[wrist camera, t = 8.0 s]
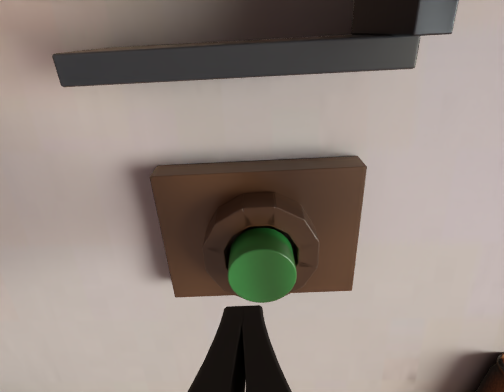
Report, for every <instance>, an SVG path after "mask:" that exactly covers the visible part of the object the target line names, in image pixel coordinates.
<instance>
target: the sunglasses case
mask: <svg viewBox="0 0 504 392" xmlns="http://www.w3.org/2000/svg"><path fill="white" fill-rule="evenodd" d="M476 392H504V353H502V354H501V355H499V356H498V357H497V362H496V364H495V365H492V366H491V368H490V369H489V370H488V372H487V374H486V376H485V377H484V378H483V380H482V382H481V384H480V386H479V388H478V389H477V391H476Z"/></svg>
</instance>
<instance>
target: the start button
mask: <svg viewBox="0 0 504 392" xmlns="http://www.w3.org/2000/svg"><path fill="white" fill-rule="evenodd" d="M296 278H297V271H296V266H295V261H294V255H293V250H292V246H291V244H290V242H289V240H288V239H287V238H286V237H285V236H284V235H283V234H281V233H280V232H278V231H276V230H274V229H270V228H253V229H250V230H247V231H245V232H243V233H241V234H240V235H239V236H238V237H237V238H236V239H235V240H234V241H233V243H232V245H231V248H230V255H229V265H228V282H229V284H230V286H231V288H232V290H233V291H234V292H235V293H236V294H237V295H239V296H240V297H242V298H244V299H246V300H249V301H252V302H259V303H264V302H271V301H275V300H278V299H280V298H282V297H284V296H285V295H286V294H288V293H289V292H290V291H291V289H292V288H293V286H294V284H295V282H296Z"/></svg>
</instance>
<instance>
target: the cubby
mask: <svg viewBox="0 0 504 392" xmlns="http://www.w3.org/2000/svg"><path fill="white" fill-rule="evenodd" d="M458 1H459V0H354V6H353V19H352V31H351V34H348V35H330V36H311V37H293V38H275V39H257V40H239V41H221V42H202V43H184V44H166V45H148V46H130V47H112V48H100V49H91V50H82V51H73V52H65V53H56V54H53V55H52V57H53V60H54V64H55V67H56V70H57V73H58V77H59V80H60V83H61V86H63V87H75V86H94V85H113V84H132V83H151V82H170V81H189V80H208V79H227V78H246V77H265V76H284V75H303V74H322V73H341V72H360V71H379V70H398V69H413V68H415V65H416V59H417V53H418V47H419V42H420V36H423V35H442V34H451V33H452V30H453V26H454V21H455V16H456V11H457V6H458Z"/></svg>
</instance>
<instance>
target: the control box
mask: <svg viewBox="0 0 504 392" xmlns="http://www.w3.org/2000/svg"><path fill="white" fill-rule="evenodd" d="M366 169H367V166H366V165H365V164H364V163H363V162H362V161H361V159H360V158H359V157H358V156H350V157H329V158H308V159H286V160H265V161H244V162H223V163H202V164H181V165H159V166H157V167H156V168H155V170H154V171H153V173H152V174H151V176H150V181H151V185H152V190H153V195H154V199H155V204H156V209H157V214H158V218H159V223H160V228H161V233H162V237H163V242H164V247H165V251H166V256H167V261H168V266H169V270H170V275H171V280H172V285H173V289H174V294H175V297H197V296H223V295H236V296H239V295H237V294H236V293H235V292H234V291H233V290H232V288H231V286H230V284H229V282H228V265H229V255H230V248H231V245H232V243H233V241H234V240H235V239H236V238H237V237H238V236H239V235H240V234H241V233H243V232H245V231H247V230H250V229H253V228H270V229H274V230H276V231H278V232H280V233H281V234H283V235H284V236H285V237H286V238H287V239H288V240H289V242H290V244H291V246H292V250H293V255H294V261H295V266H296V271H297V278H296V282H295V284H294V286H293V288H292V289H291V291H290V292H289V293H288V294H290V293H301V292H327V291H351V290H352V285H353V277H354V268H355V260H356V252H357V243H358V235H359V227H360V219H361V210H362V202H363V194H364V185H365V177H366ZM288 294H286V295H288ZM286 295H285V296H286ZM239 297H240V296H239ZM241 298H242V297H241Z"/></svg>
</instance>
